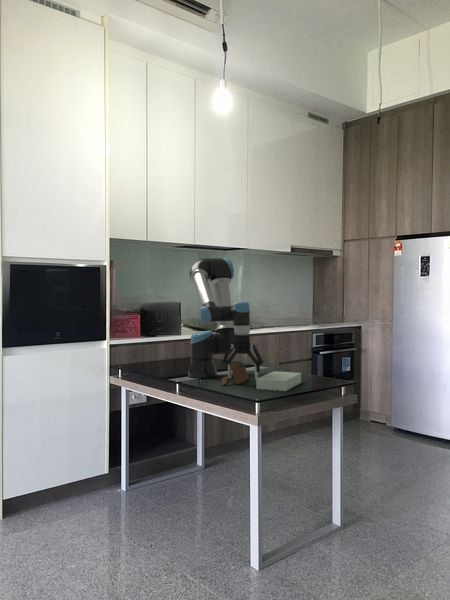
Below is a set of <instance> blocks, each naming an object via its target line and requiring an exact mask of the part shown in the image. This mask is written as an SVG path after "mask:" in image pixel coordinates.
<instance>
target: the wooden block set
mask: <svg viewBox="0 0 450 600" xmlns="http://www.w3.org/2000/svg"><path fill="white" fill-rule="evenodd" d="M230 366H231V373H232V375H233V378H234V380H235V384H236V385H241V384H243V383H245V382H247V381H248V380H250V377H249V374H248V370H247V367H246V366H243V367H241V366H240V363H239V361H233V362H230ZM228 384H230V381H229V378H228V375H226V376H224V377H222V379H221V384H220V386H226V385H228Z"/></svg>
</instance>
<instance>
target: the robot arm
mask: <svg viewBox="0 0 450 600" xmlns="http://www.w3.org/2000/svg"><path fill="white" fill-rule="evenodd" d="M234 276H235V270H234V265H233V262H232V261H231V259H229V258H224V257H211V258H210V257H209V258H208V257H207V258H206V257H203V258H199V259H196V261H194V262H193V264H192V265H191V267H190V270H189V278H190V282H191V283H193V285H194V289H195V292H196V296H197V298H198V301H199V305H200V307H199V308H198V320H199V321H200V322H202V323H214V322H216V324H217V326H216V328H215V330H214V332H213V330H203V331H197V332H194V333H192V334H191V336H190V363H189V364H190V365H189V368H188V372H187V376H188V377H189V378H193V379H194V378H195V379H206V378H214V377H216V376H218V374H217V373H218V371H217V367H216V366H215V362H214V356H223V355H224V357H223V359H222V361H221V362H222V364H225V371H226V372H227V377H228V379H231V378H232V369H231V366H230V364H231V363H232V361H233V360H234V358H235V357H236V356H237V355H241V354H243V355H248V357H249V358H250V359H251V361H252V362H253V363H254V364H255V365H254V380H256V379H257V378H259V373H260V372H261V365H264V360H263V358H262V356H261V354H260V352H259V350H258V346H257V343H256V344H251V335H250V333H251V329H250V327H251V326H250V322H251V321H250V320H251V319H250V317H251V316H250V315H251V313H250V310H251V309H250V303H249V301H235V302H233V305H232V301H231V293H230V283H232V279H234V278H235V277H234ZM208 280H209V281H210V282H209V281H208ZM209 283H210V284H211V285H212V286H213V292H212V289H211V286H210V284H209ZM213 294H214V295H213ZM250 349H252V351H253V352H254V354H255V355H254V354H253V353H252V351H251V350H250Z"/></svg>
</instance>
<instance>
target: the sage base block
mask: <svg viewBox="0 0 450 600" xmlns="http://www.w3.org/2000/svg"><path fill="white" fill-rule="evenodd" d="M255 382H256V384H255V385H256V390H264V389H265V391H266V390H267V391H277V390H278V391H279V392H287V391H289V390H291V389H293V388H294V387H295V386H296V387H297V386H298V385H299V384H301V383H302V373H301V372H292V371H291V372H289V371H276V370H275V371H271V372H269V373H267V374H264V375H263V376H260V377H259V376H258V378H257V379H255Z"/></svg>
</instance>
